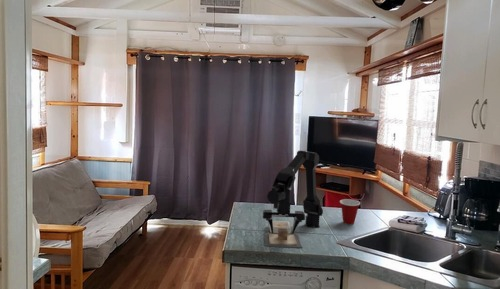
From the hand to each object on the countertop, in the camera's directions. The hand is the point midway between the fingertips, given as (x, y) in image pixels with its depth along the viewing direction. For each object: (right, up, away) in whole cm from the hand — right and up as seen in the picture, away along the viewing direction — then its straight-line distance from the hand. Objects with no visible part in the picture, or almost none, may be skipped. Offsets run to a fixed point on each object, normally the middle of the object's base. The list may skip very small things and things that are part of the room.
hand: (282, 233), depth 167 cm
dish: (0, -2, +16) cm, 16 cm away
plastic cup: (+39, -3, +34) cm, 52 cm away
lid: (0, -3, 0) cm, 3 cm away
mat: (0, -4, 0) cm, 4 cm away
